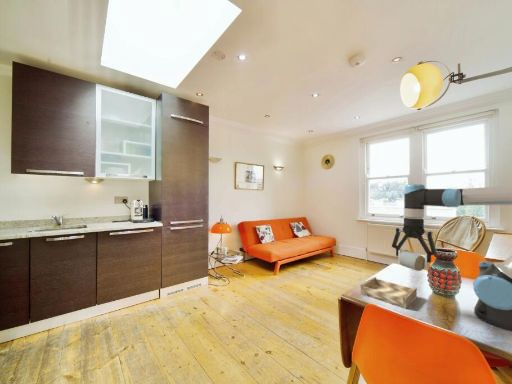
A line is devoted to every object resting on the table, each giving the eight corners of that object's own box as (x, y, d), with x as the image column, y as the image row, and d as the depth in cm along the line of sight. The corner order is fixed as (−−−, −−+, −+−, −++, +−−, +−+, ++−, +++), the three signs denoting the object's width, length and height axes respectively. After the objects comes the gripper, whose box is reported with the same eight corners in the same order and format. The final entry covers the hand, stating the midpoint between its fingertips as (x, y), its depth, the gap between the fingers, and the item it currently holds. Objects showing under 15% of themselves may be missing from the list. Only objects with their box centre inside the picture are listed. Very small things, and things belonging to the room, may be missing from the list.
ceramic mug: (416, 272, 96) (416, 255, 96) (398, 266, 104) (398, 250, 104) (431, 270, 100) (432, 253, 100) (413, 264, 108) (414, 249, 108)
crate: (416, 297, 110) (416, 288, 110) (405, 309, 99) (405, 298, 99) (374, 285, 125) (374, 276, 125) (360, 293, 114) (360, 284, 114)
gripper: (446, 219, 96) (445, 271, 96) (389, 215, 113) (388, 258, 113) (443, 221, 91) (441, 275, 91) (384, 215, 108) (383, 261, 108)
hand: (412, 266), depth 102 cm, fingers closed on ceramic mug, 9 cm apart
